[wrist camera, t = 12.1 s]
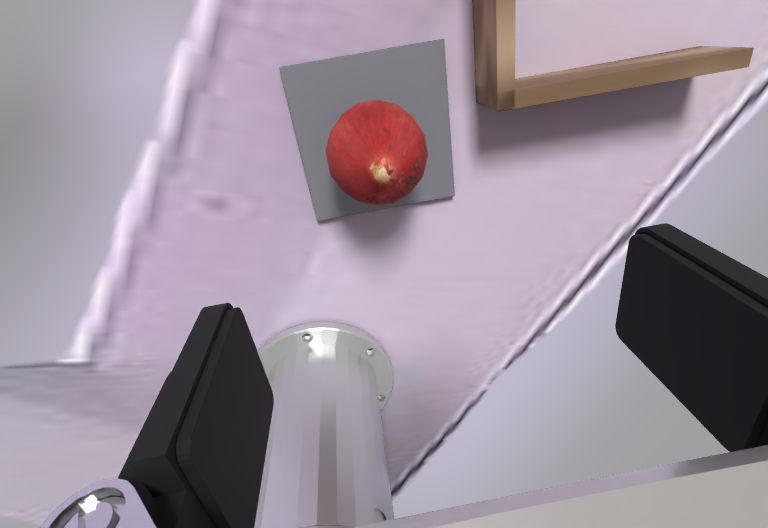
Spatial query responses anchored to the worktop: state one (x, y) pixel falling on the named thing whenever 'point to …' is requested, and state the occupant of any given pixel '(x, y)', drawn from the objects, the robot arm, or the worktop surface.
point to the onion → (376, 152)
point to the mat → (362, 84)
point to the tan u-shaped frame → (510, 93)
